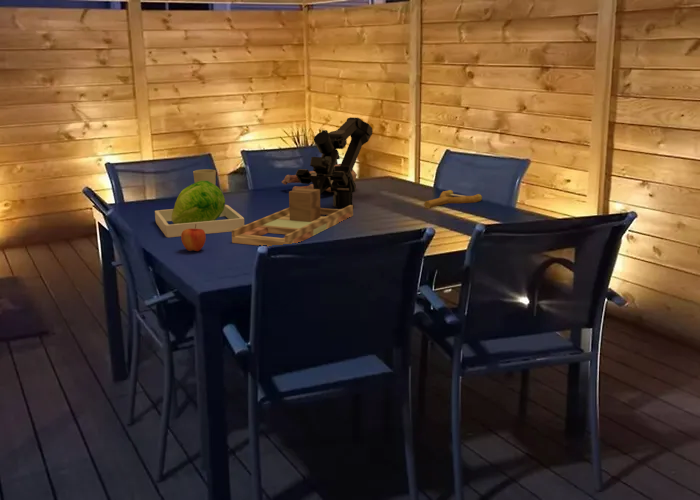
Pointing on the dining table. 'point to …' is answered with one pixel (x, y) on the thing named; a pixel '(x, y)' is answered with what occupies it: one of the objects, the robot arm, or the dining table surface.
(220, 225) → the lettuce crate rim
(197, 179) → the mug
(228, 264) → the dining table surface
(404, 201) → the dining table surface
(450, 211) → the dining table surface
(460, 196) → the slingshot
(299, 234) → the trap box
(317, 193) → the walnut block
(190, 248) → the apple
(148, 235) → the dining table surface
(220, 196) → the lettuce
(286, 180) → the sculpture
